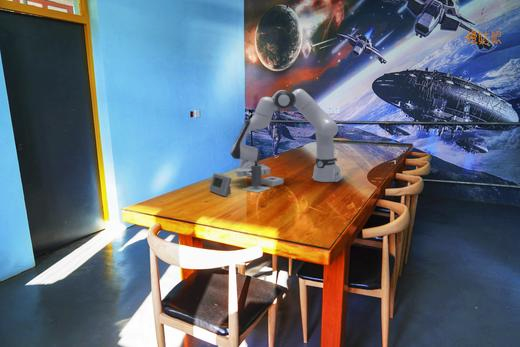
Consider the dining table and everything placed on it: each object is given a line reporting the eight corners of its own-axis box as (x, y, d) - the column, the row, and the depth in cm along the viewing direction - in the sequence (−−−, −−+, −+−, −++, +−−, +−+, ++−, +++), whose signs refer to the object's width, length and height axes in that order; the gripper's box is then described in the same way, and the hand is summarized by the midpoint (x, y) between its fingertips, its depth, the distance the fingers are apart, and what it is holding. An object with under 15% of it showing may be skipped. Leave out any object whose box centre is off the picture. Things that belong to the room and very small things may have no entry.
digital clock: (208, 191, 204) (207, 173, 202) (223, 189, 209) (222, 171, 206) (218, 198, 190) (218, 178, 188) (234, 195, 195) (233, 176, 192)
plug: (256, 184, 210) (255, 159, 207) (261, 185, 207) (261, 160, 204) (251, 185, 207) (251, 160, 204) (256, 187, 204) (256, 161, 201)
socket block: (271, 180, 227) (271, 176, 226) (283, 183, 220) (283, 178, 220) (260, 183, 219) (260, 179, 219) (273, 186, 213) (273, 181, 212)
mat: (255, 185, 216) (255, 184, 216) (270, 188, 208) (270, 187, 208) (241, 189, 207) (241, 188, 207) (257, 192, 199) (257, 192, 199)
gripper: (233, 165, 214) (239, 170, 201) (265, 163, 220) (273, 167, 207) (234, 176, 215) (239, 181, 202) (265, 173, 221) (273, 178, 208)
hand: (256, 174), depth 205 cm, fingers closed on plug, 5 cm apart
